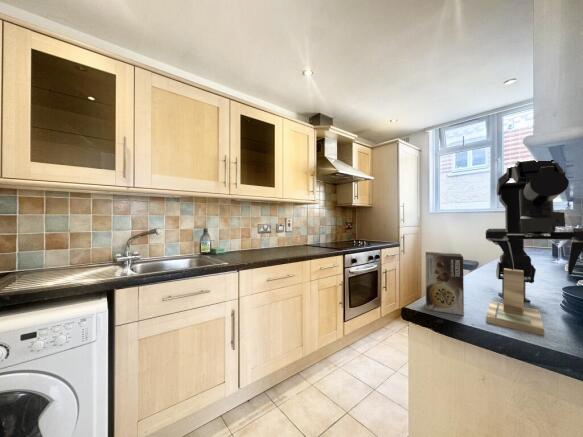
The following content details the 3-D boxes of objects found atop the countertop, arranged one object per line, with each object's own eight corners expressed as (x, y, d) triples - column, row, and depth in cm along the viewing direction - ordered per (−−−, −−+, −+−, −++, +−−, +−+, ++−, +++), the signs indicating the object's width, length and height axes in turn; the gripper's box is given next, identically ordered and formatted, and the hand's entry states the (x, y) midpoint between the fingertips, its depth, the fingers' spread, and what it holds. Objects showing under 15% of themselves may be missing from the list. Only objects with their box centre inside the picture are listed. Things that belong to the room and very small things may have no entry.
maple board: (490, 306, 71) (490, 300, 71) (538, 315, 64) (538, 309, 64) (486, 321, 59) (486, 315, 59) (544, 335, 52) (544, 328, 52)
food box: (460, 308, 68) (461, 253, 68) (464, 316, 63) (464, 256, 63) (425, 302, 73) (425, 251, 73) (425, 309, 67) (425, 253, 67)
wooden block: (504, 306, 66) (504, 267, 66) (523, 310, 63) (523, 269, 64) (503, 312, 62) (503, 270, 62) (523, 316, 59) (523, 272, 59)
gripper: (481, 203, 59) (481, 265, 56) (603, 194, 45) (612, 276, 43) (488, 212, 66) (489, 268, 64) (596, 207, 52) (603, 278, 50)
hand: (539, 272), depth 55 cm, fingers open, 9 cm apart
